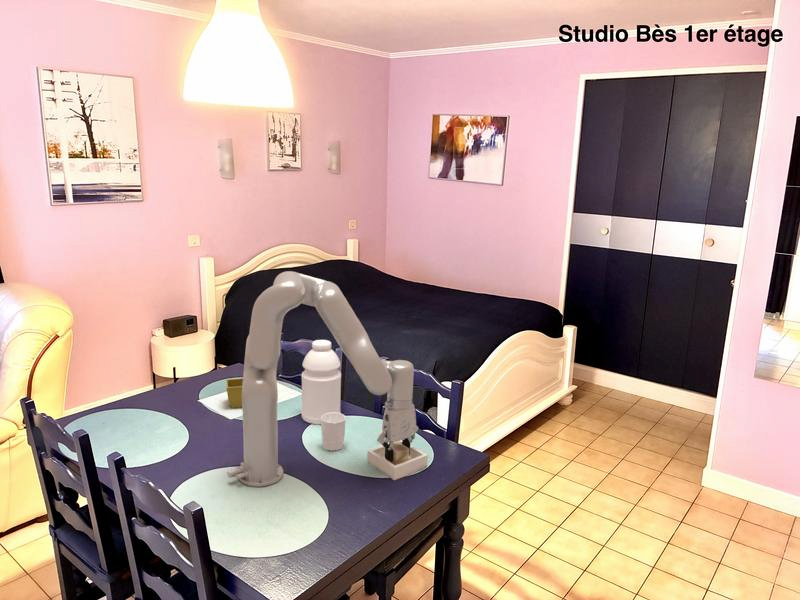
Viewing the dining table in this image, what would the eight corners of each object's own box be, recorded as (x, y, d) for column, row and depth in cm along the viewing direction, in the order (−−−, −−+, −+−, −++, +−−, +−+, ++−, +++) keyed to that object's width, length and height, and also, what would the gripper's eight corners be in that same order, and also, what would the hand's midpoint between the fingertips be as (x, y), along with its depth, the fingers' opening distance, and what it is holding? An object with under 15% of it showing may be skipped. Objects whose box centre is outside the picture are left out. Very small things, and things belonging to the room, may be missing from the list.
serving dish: (394, 480, 172) (394, 467, 172) (367, 462, 182) (367, 450, 181) (427, 467, 181) (427, 455, 180) (399, 450, 190) (400, 439, 189)
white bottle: (323, 428, 203) (324, 351, 197) (293, 418, 210) (292, 343, 204) (348, 414, 215) (349, 341, 209) (318, 405, 222) (319, 334, 216)
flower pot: (226, 401, 223) (225, 378, 220) (250, 399, 225) (250, 377, 223) (227, 411, 214) (226, 387, 212) (252, 408, 217) (251, 385, 215)
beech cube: (395, 468, 178) (396, 453, 177) (385, 461, 181) (386, 446, 180) (408, 463, 181) (409, 448, 180) (398, 456, 185) (398, 442, 183)
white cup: (341, 453, 187) (341, 424, 185) (317, 450, 188) (317, 421, 186) (348, 442, 195) (348, 413, 192) (325, 439, 196) (325, 411, 194)
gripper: (385, 413, 168) (382, 470, 173) (429, 399, 179) (426, 453, 183) (368, 404, 174) (367, 460, 178) (413, 391, 185) (410, 444, 189)
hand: (397, 456), depth 181 cm, fingers open, 6 cm apart
